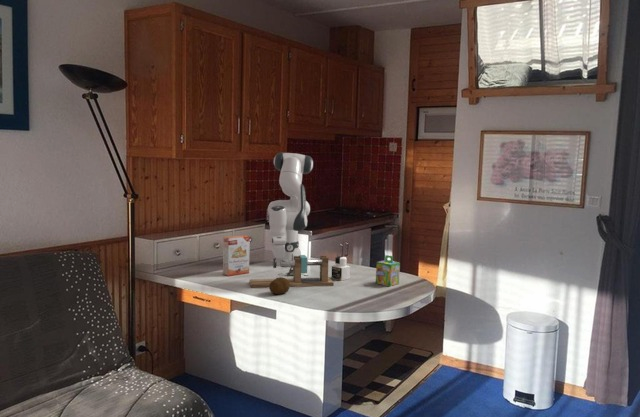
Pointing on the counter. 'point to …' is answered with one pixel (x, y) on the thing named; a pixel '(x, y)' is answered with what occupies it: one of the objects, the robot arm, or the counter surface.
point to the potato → (279, 285)
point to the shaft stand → (297, 279)
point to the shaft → (292, 262)
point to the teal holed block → (303, 263)
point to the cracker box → (236, 255)
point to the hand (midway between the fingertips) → (277, 264)
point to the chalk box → (387, 272)
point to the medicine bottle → (340, 269)
